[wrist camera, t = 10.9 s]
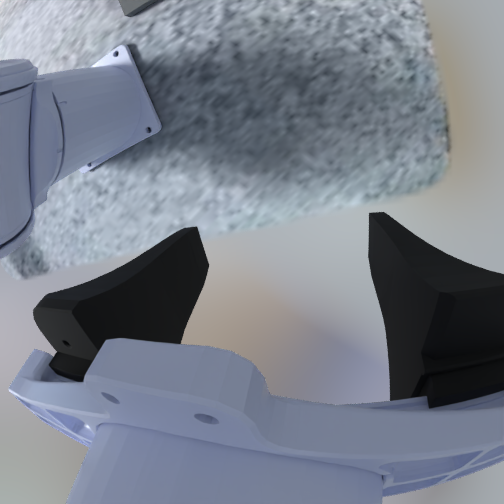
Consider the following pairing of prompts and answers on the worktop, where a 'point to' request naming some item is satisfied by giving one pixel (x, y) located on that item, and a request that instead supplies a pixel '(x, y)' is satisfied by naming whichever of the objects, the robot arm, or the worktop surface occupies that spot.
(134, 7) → the post base
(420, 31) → the worktop surface
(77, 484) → the robot arm
